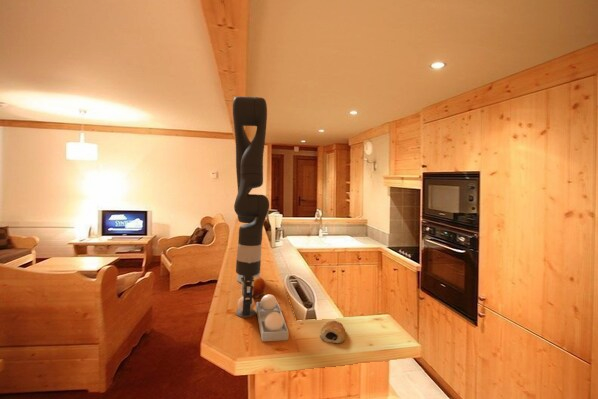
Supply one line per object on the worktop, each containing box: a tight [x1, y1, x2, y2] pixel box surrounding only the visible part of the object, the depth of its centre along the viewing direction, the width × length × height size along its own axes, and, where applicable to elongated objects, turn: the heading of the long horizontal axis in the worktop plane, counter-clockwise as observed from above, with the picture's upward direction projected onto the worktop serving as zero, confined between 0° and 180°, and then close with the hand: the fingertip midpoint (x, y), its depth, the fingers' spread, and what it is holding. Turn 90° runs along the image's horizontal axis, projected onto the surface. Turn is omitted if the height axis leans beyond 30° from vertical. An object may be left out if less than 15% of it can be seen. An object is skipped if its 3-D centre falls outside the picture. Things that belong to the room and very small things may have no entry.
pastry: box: [319, 320, 347, 344], centre depth 82 cm, size 9×7×4 cm
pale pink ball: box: [237, 295, 255, 312], centre depth 91 cm, size 5×5×5 cm
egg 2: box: [265, 312, 284, 332], centre depth 80 cm, size 5×5×5 cm
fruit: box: [252, 276, 266, 299], centre depth 105 cm, size 8×8×8 cm
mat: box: [235, 308, 256, 319], centre depth 91 cm, size 6×6×1 cm
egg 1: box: [259, 293, 278, 311], centre depth 92 cm, size 5×5×5 cm
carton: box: [255, 301, 290, 342], centre depth 86 cm, size 19×7×2 cm, turn 13°
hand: (245, 310), depth 91 cm, fingers closed on pale pink ball, 5 cm apart
